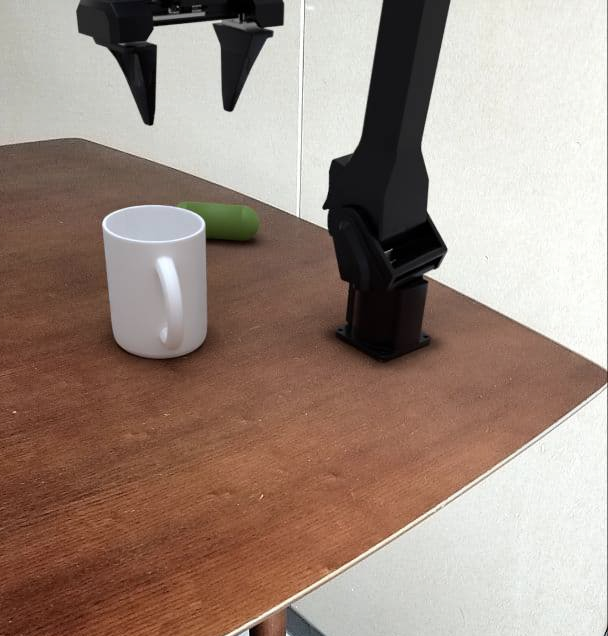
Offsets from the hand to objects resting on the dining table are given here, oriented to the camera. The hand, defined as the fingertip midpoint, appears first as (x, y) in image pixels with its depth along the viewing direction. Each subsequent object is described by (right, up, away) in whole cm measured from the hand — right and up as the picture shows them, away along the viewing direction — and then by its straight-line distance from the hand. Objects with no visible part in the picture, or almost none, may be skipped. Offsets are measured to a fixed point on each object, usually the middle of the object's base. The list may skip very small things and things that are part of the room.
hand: (189, 117), depth 81 cm
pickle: (+1, -6, +14) cm, 15 cm away
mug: (-1, -23, -6) cm, 24 cm away
